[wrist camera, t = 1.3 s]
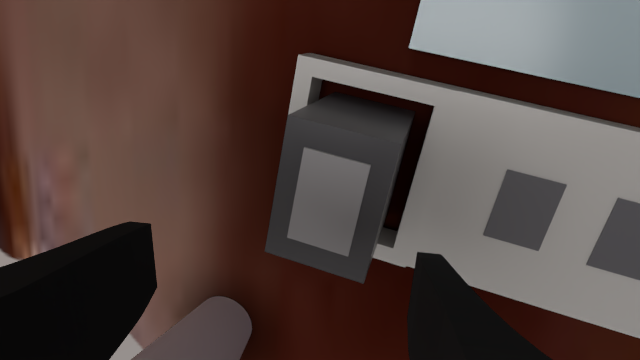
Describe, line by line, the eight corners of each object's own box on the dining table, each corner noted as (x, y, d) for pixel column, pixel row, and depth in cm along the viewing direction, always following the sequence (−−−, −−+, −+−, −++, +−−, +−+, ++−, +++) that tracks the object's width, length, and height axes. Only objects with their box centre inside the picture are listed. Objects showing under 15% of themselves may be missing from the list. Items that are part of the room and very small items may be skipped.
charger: (415, 111, 21) (401, 145, 14) (387, 214, 23) (362, 285, 16) (335, 91, 22) (287, 115, 15) (314, 192, 23) (263, 252, 17)
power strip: (741, 151, 18) (775, 164, 16) (645, 321, 21) (664, 348, 19) (311, 53, 21) (298, 54, 19) (282, 211, 24) (269, 225, 22)
